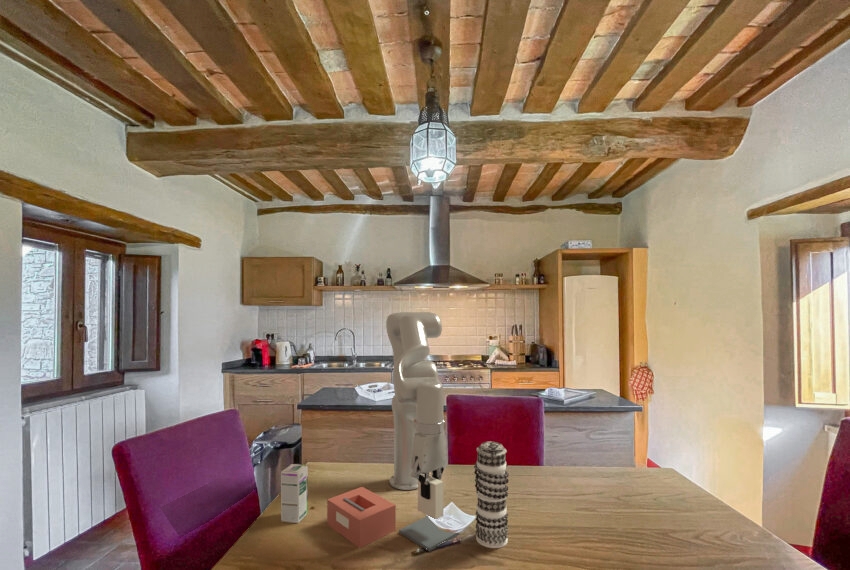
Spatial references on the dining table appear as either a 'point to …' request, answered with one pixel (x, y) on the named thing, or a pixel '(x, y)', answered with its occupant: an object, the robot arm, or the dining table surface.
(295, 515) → the syrup box
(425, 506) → the cream upright pillar
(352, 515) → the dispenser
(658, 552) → the dining table surface
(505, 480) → the white patterned cylinder
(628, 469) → the dining table surface
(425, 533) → the coaster
